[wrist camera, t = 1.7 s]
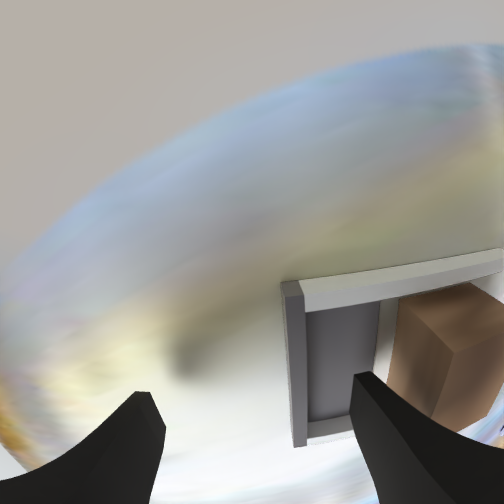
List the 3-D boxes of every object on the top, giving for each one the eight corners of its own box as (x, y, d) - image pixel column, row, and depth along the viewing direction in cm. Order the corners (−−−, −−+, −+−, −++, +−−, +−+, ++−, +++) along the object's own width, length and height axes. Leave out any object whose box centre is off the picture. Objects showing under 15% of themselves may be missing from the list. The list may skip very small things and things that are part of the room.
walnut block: (468, 281, 10) (526, 320, 6) (448, 369, 11) (486, 415, 7) (397, 297, 10) (454, 352, 6) (383, 390, 11) (415, 450, 7)
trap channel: (499, 247, 9) (516, 254, 8) (468, 378, 11) (478, 390, 10) (280, 282, 10) (284, 297, 8) (291, 429, 12) (293, 447, 10)
